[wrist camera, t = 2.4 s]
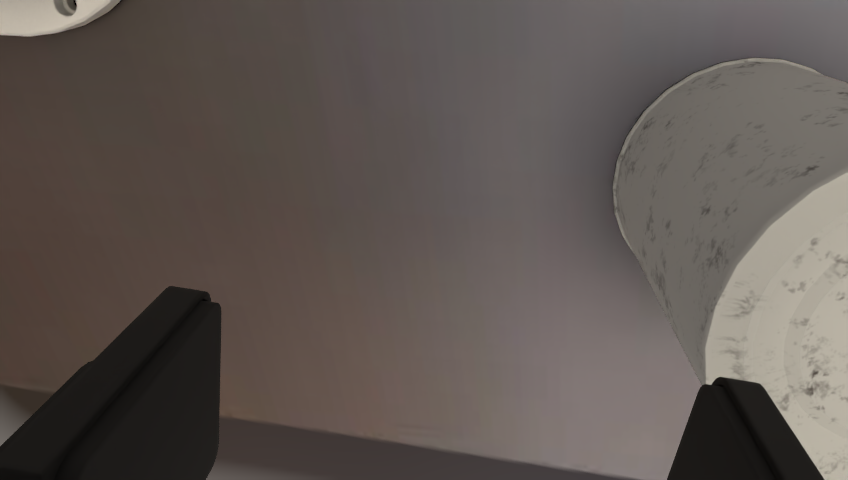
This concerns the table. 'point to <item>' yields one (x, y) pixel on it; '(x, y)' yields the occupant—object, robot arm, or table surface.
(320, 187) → the table surface
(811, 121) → the grey speckled cylinder
